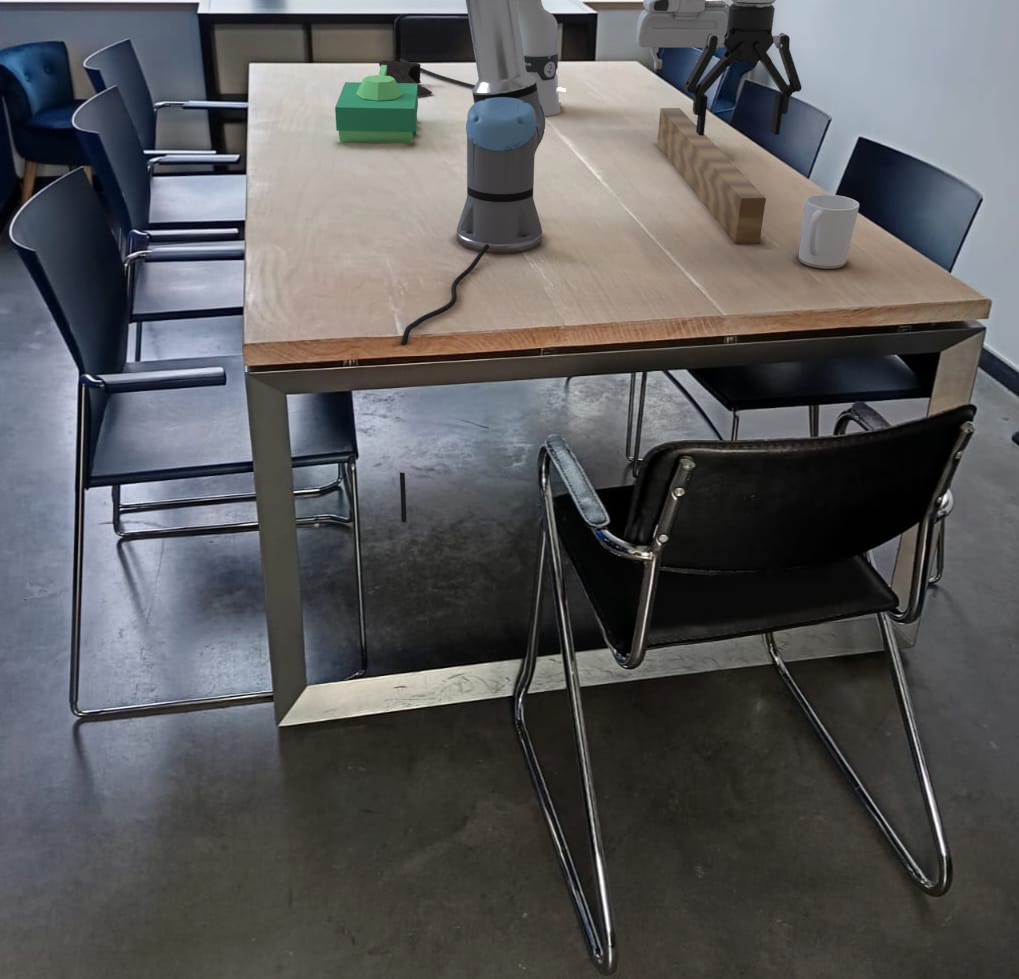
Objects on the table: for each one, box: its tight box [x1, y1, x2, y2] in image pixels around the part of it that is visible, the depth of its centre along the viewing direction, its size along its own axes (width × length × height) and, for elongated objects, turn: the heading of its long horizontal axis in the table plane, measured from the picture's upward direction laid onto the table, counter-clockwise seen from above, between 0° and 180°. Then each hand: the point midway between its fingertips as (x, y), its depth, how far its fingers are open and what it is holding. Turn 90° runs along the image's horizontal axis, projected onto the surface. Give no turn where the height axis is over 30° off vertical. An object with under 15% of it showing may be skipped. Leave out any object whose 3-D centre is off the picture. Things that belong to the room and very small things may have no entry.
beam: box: [656, 107, 767, 244], centre depth 225 cm, size 70×4×8 cm, turn 5°
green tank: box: [334, 65, 419, 144], centre depth 261 cm, size 18×12×35 cm
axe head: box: [378, 59, 433, 98], centre depth 299 cm, size 18×8×15 cm
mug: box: [798, 193, 860, 270], centre depth 186 cm, size 11×9×10 cm
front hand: (737, 133), depth 194 cm, fingers open, 13 cm apart
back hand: (678, 68), depth 243 cm, fingers open, 8 cm apart
